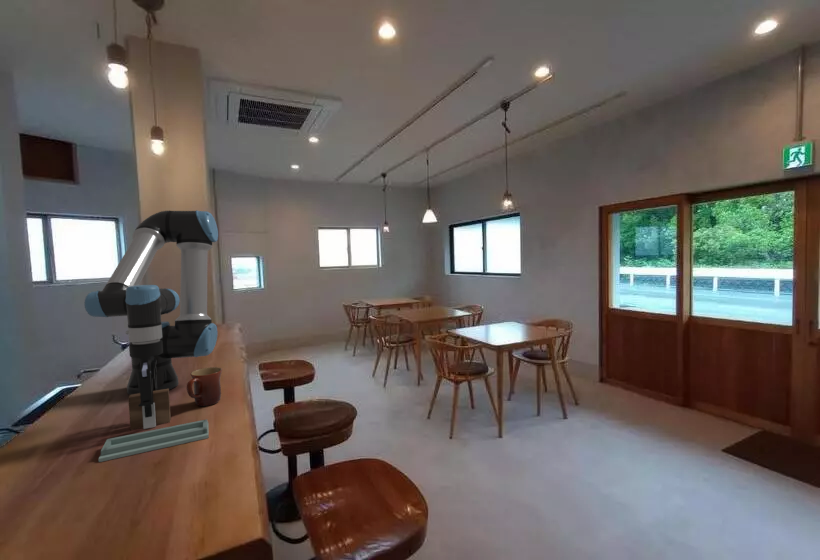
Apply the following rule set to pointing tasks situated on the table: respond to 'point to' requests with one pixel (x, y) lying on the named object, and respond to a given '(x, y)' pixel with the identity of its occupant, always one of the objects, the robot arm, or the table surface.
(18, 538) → the table surface
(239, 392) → the table surface
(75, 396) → the table surface
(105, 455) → the track base
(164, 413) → the slider block
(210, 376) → the mug
